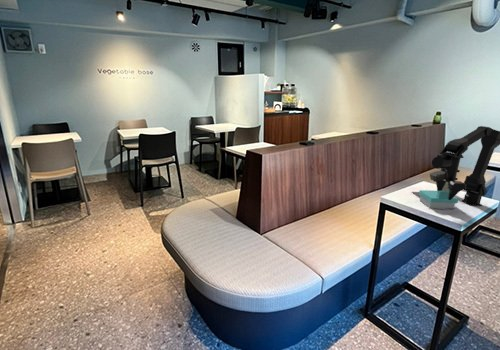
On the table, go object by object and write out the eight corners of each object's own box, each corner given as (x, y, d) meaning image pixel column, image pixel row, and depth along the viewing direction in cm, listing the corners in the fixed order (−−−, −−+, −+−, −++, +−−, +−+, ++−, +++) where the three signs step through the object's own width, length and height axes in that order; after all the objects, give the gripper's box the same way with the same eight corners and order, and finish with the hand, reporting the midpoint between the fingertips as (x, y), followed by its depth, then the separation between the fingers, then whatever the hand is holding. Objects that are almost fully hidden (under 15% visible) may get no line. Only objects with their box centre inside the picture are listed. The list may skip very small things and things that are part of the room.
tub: (442, 201, 156) (444, 193, 154) (453, 209, 146) (455, 200, 145) (419, 200, 156) (421, 192, 155) (429, 208, 147) (431, 199, 145)
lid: (444, 194, 155) (446, 184, 154) (457, 203, 145) (460, 192, 143) (419, 193, 156) (421, 184, 154) (430, 202, 145) (432, 191, 143)
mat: (435, 193, 168) (436, 192, 168) (447, 200, 158) (447, 199, 157) (411, 192, 169) (411, 191, 169) (421, 199, 158) (421, 198, 158)
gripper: (424, 161, 149) (418, 189, 154) (445, 172, 132) (438, 203, 136) (446, 162, 149) (439, 189, 154) (470, 172, 131) (462, 203, 136)
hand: (444, 196), depth 145 cm, fingers open, 9 cm apart
